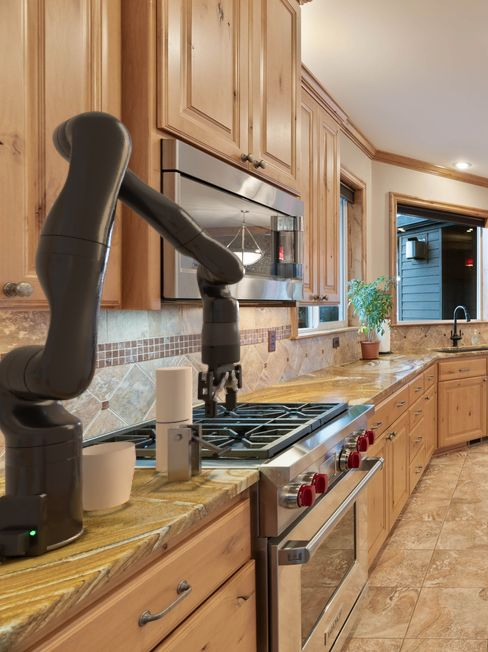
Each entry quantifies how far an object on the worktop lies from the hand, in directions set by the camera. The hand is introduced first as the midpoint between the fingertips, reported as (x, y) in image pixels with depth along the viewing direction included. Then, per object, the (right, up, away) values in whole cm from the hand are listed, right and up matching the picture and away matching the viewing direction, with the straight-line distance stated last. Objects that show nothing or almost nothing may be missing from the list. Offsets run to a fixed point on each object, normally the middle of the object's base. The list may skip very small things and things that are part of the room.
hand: (221, 413), depth 105 cm
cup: (-13, -16, -14) cm, 25 cm away
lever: (-5, -8, -1) cm, 9 cm away
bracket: (-8, -16, -1) cm, 17 cm away
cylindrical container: (-15, -16, +6) cm, 23 cm away
